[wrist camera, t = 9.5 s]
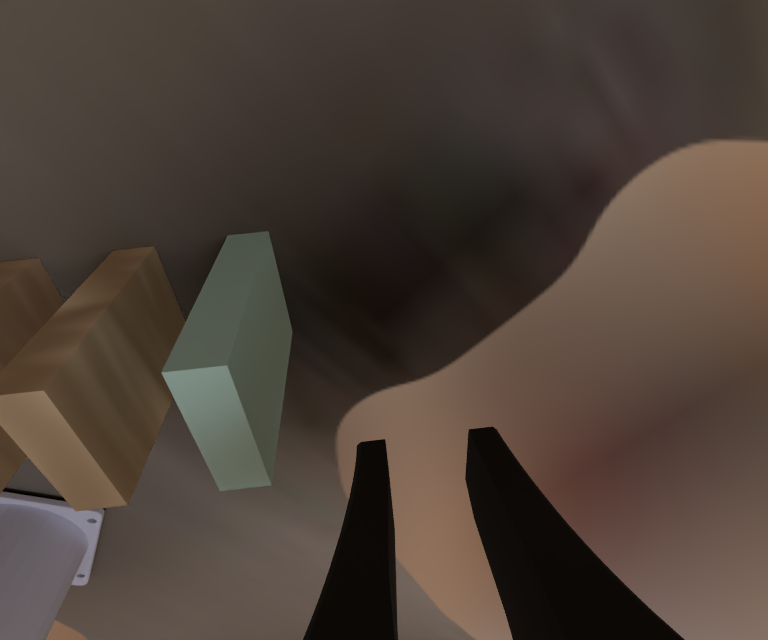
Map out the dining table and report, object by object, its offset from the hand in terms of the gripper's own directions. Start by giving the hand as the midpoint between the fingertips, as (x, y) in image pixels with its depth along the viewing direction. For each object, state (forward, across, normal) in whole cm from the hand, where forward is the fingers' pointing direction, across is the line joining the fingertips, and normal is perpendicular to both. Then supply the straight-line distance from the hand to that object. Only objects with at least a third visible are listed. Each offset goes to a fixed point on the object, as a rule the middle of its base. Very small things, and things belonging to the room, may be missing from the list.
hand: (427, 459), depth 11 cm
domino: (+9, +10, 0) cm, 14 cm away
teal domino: (+9, +6, 0) cm, 11 cm away
